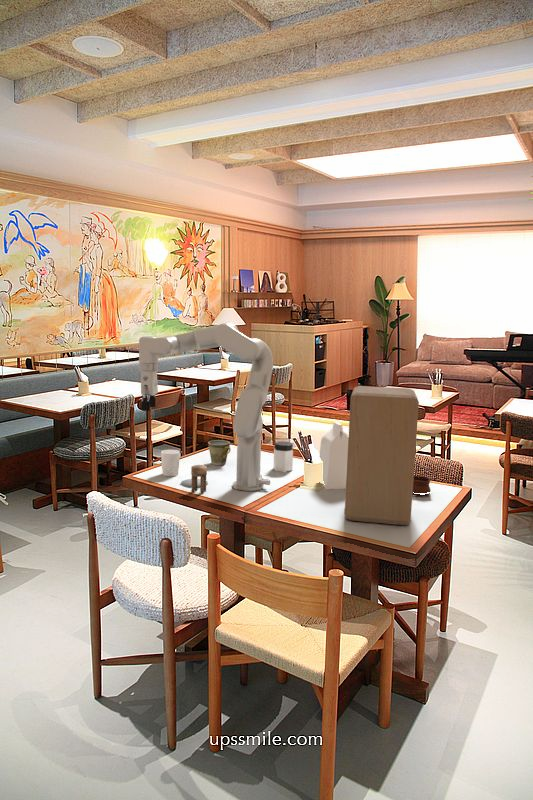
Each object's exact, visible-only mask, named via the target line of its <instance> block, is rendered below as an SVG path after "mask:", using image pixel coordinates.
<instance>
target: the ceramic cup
mask: <svg viewBox="0 0 533 800" xmlns="http://www.w3.org/2000/svg"><path fill="white" fill-rule="evenodd" d="M207 445H208V451H209V456H210V461H211V462H210V463H211V464H212V465H214V466H224V465H226V464H227V458H228V454H229V453H230V452H231V442H230V441H228V440H223V439H215V440H210V441H208V442H207Z"/></svg>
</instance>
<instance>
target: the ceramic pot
mask: <svg viewBox="0 0 533 800" xmlns="http://www.w3.org/2000/svg"><path fill="white" fill-rule="evenodd" d="M430 482H431V479H430V478H429V477H427V476H423V475H420V476H419V475H414V480H413V492H414V493H427V492H430V493H431V490H432V489H431V487H430ZM414 493H413V494H412V497H419V498H420V497H421V498H423V497H429V495H430V493H429V494H425V495H420V494H414ZM413 500H415V499H413V498H412V501H413Z"/></svg>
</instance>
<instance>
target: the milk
mask: <svg viewBox="0 0 533 800" xmlns="http://www.w3.org/2000/svg"><path fill="white" fill-rule="evenodd" d="M343 428H344V427H343V424H342V423H340V422H339V421H338V422H337V421H334V422H333V425H332V428H330V430H329V431H327V432H326V433H325V434H324V435H323V436H322V437H321V439H320V447H319V449H320V450H319V457H320V458H321V460H322V461H323V481H324V484H325V485H324V484H323V485H321V486H322V487H323V488H324V489H325V490H338V489H339V490H343V489H344V490H346V477H347V458H348V438H349V433H347V432H346V431H345V430H344V429H343Z"/></svg>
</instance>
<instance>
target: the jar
mask: <svg viewBox="0 0 533 800" xmlns="http://www.w3.org/2000/svg"><path fill="white" fill-rule="evenodd" d="M293 444H294V443H292V442H291V441H283V440H282V441H276V442H275V443H274V446H273V447H274V448H273V470H274V471H275V472H284V473H287V472H290V471H293V467H294V466H293V465H294V464H293V463H294V461H293V460H294V450H293V448H294V447H293Z"/></svg>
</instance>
